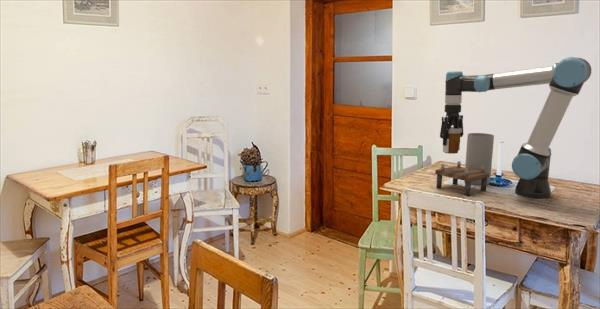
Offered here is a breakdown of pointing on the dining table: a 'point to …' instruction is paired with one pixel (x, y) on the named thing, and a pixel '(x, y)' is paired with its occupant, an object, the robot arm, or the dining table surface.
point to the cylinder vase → (479, 154)
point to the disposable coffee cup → (454, 139)
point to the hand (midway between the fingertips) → (451, 151)
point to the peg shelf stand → (462, 176)
